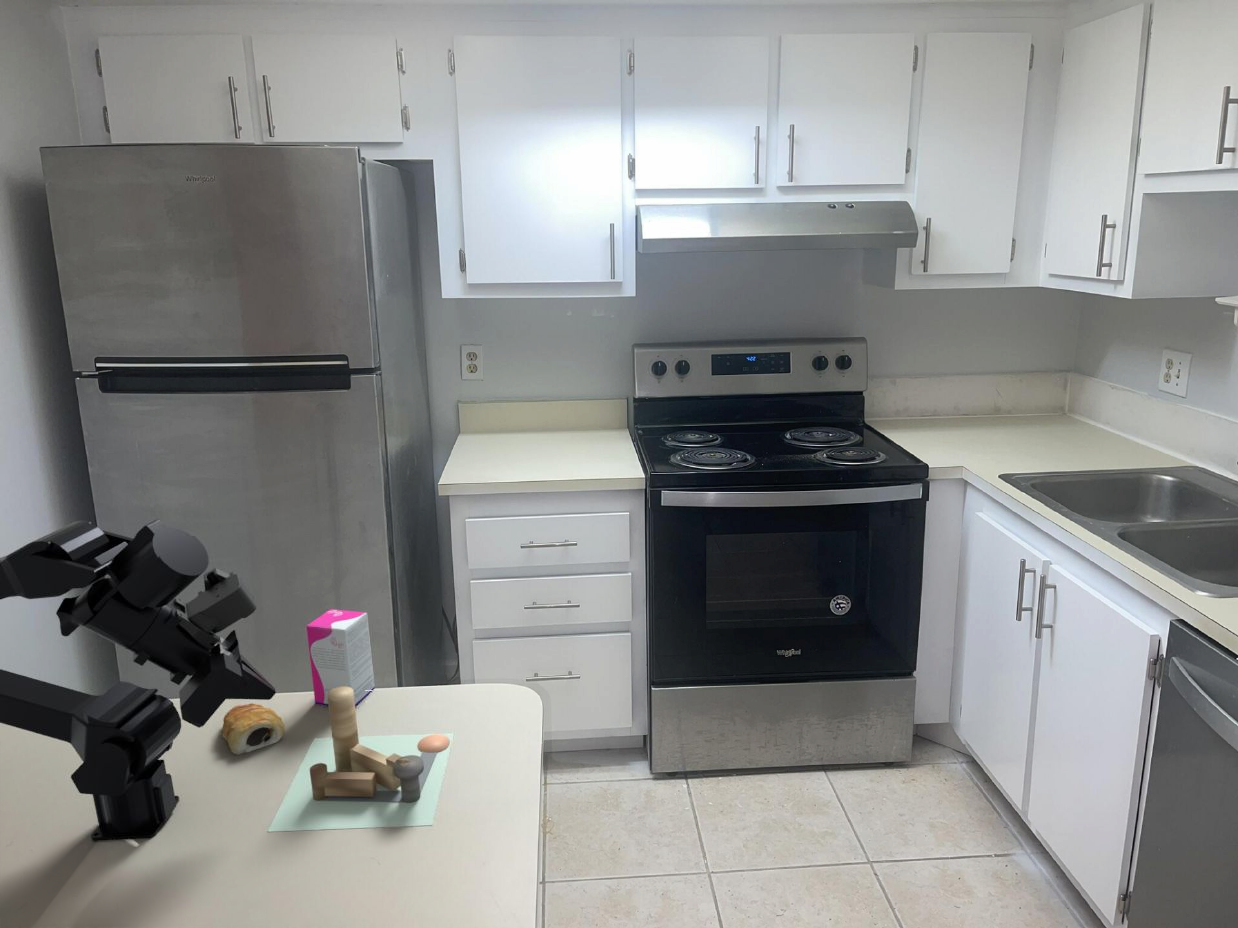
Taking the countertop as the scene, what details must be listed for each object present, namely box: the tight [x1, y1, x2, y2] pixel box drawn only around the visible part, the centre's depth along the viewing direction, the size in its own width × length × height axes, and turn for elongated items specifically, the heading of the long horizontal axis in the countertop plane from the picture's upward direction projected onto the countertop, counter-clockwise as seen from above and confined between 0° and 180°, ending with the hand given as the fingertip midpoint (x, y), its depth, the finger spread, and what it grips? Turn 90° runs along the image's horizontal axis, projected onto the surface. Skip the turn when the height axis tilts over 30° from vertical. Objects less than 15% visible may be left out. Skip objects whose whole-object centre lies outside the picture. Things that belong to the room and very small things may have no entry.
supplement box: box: [306, 608, 376, 708], centre depth 117 cm, size 6×6×12 cm
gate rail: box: [327, 686, 424, 791], centre depth 99 cm, size 13×3×10 cm, turn 57°
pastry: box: [221, 702, 286, 755], centre depth 110 cm, size 9×7×4 cm
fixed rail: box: [310, 763, 421, 803], centre depth 97 cm, size 12×2×4 cm, turn 87°
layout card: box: [267, 732, 455, 833], centre depth 101 cm, size 17×17×1 cm
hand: (273, 694), depth 97 cm, fingers closed
